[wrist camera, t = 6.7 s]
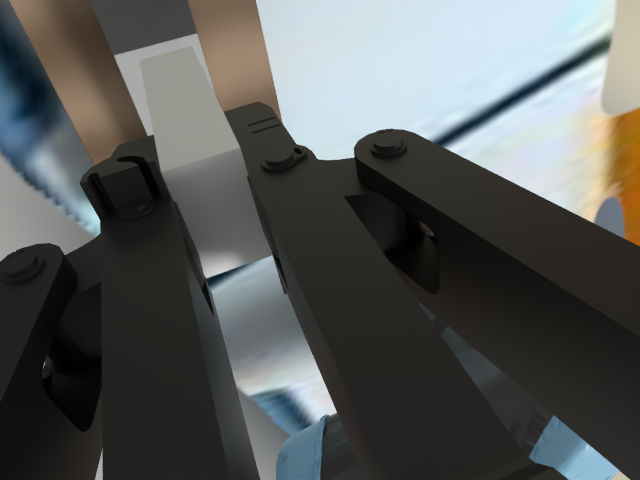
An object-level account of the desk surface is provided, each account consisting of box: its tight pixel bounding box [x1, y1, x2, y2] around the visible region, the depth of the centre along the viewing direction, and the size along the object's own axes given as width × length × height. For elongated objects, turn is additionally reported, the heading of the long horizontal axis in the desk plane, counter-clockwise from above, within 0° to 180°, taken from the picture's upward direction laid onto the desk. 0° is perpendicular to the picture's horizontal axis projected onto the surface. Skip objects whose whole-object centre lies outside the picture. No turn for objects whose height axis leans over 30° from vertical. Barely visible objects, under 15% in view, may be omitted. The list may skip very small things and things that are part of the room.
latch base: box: [9, 0, 283, 166], centre depth 28 cm, size 22×12×6 cm, turn 9°
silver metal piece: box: [90, 0, 216, 136], centre depth 28 cm, size 18×4×2 cm, turn 9°
